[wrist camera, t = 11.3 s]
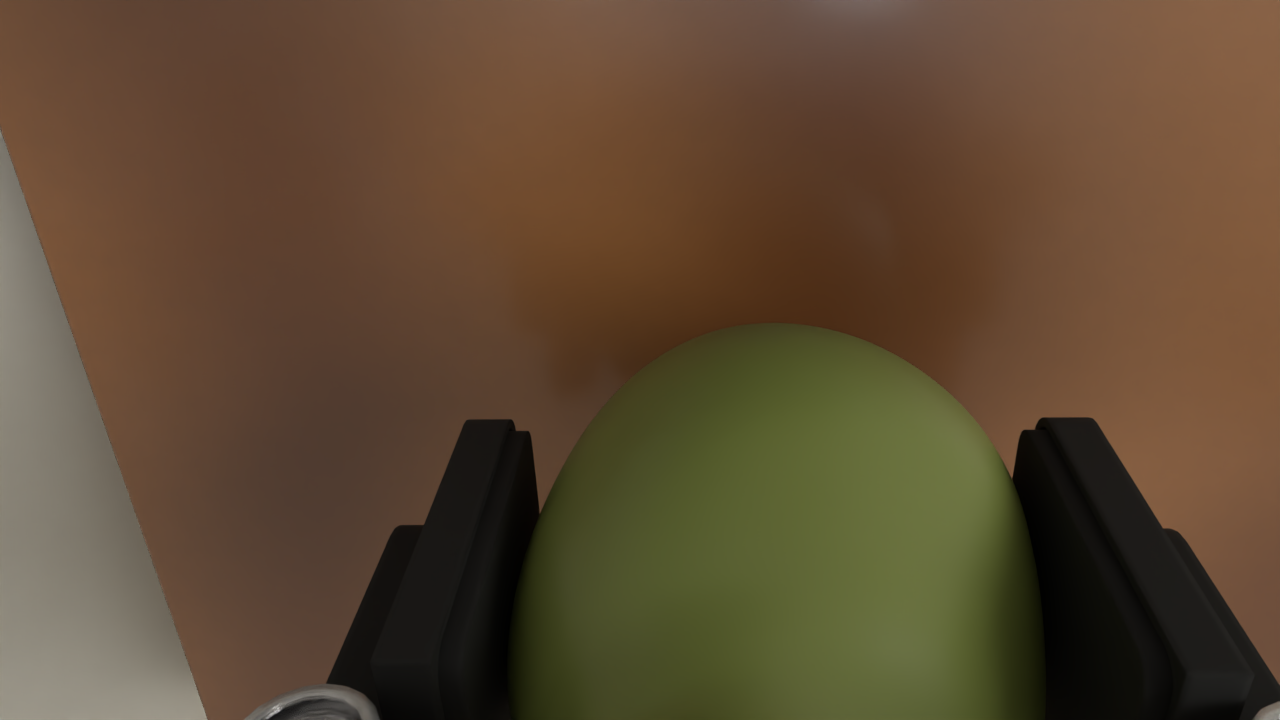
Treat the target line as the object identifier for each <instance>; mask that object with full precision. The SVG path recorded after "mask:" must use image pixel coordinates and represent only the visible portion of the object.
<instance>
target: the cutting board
mask: <svg viewBox="0 0 1280 720" xmlns="http://www.w3.org/2000/svg"><path fill="white" fill-rule="evenodd" d="M0 129H1V132H2V135H3V138H4V141H5V144H6V146H7V149H8V152H9V155H10V158H11V161H12V164H13V166H14V169H15V172H16V175H17V178H18V181H19V183H20V186H21V189H22V192H23V195H24V198H25V201H26V203H27V206H28V209H29V212H30V215H31V218H32V220H33V223H34V226H35V229H36V232H37V235H38V238H39V240H40V243H41V246H42V249H43V252H44V255H45V257H46V260H47V263H48V266H49V269H50V272H51V275H52V277H53V280H54V283H55V286H56V289H57V292H58V294H59V297H60V300H61V303H62V306H63V309H64V312H65V314H66V317H67V320H68V323H69V326H70V329H71V332H72V334H73V337H74V340H75V343H76V346H77V349H78V351H79V354H80V357H81V360H82V363H83V366H84V369H85V371H86V374H87V377H88V380H89V383H90V386H91V388H92V391H93V394H94V397H95V400H96V403H97V406H98V408H99V411H100V414H101V417H102V420H103V423H104V425H105V428H106V431H107V434H108V437H109V440H110V443H111V445H112V448H113V451H114V454H115V457H116V460H117V462H118V465H119V468H120V471H121V474H122V477H123V480H124V482H125V485H126V488H127V491H128V494H129V497H130V499H131V502H132V505H133V508H134V511H135V514H136V517H137V519H138V522H139V525H140V528H141V531H142V534H143V536H144V539H145V542H146V545H147V548H148V551H149V554H150V556H151V559H152V562H153V565H154V568H155V571H156V573H157V576H158V579H159V582H160V585H161V588H162V591H163V593H164V596H165V599H166V602H167V605H168V608H169V611H170V613H171V616H172V619H173V622H174V625H175V628H176V630H177V633H178V636H179V639H180V642H181V645H182V648H183V650H184V653H185V656H186V659H187V662H188V665H189V667H190V670H191V673H192V676H193V679H194V682H195V685H196V687H197V690H198V693H199V696H200V699H201V702H202V704H203V707H204V710H205V713H206V716H207V719H208V720H244V719H245V718H246V717H247V716H249V715H250V714H251V713H252V712H253V711H254V710H255V709H256V708H257V707H259V706H261V705H262V704H264V703H266V702H267V701H269V700H271V699H272V698H274V697H276V696H277V695H279V694H282V693H285V692H288V691H291V690H294V689H297V688H299V687H302V686H310V685H318V684H326V682H327V680H328V677H329V675H330V673H331V670H332V668H333V666H334V663H335V661H336V659H337V657H338V654H339V652H340V650H341V647H342V645H343V643H344V640H345V638H346V636H347V634H348V631H349V629H350V627H351V624H352V622H353V620H354V618H355V615H356V613H357V611H358V608H359V606H360V604H361V601H362V599H363V597H364V595H365V592H366V590H367V588H368V585H369V583H370V581H371V578H372V576H373V574H374V572H375V569H376V567H377V565H378V562H379V560H380V558H381V555H382V553H383V551H384V549H385V546H386V544H387V542H388V539H389V537H390V535H391V534H392V532H393V530H394V529H395V528H396V527H397V526H399V525H424V523H425V521H426V518H427V516H428V513H429V511H430V508H431V506H432V503H433V501H434V498H435V495H436V493H437V490H438V488H439V485H440V483H441V480H442V478H443V475H444V473H445V470H446V468H447V465H448V463H449V460H450V458H451V455H452V452H453V450H454V447H455V445H456V442H457V440H458V437H459V435H460V432H461V430H462V427H463V425H464V423H465V421H466V420H468V419H512V420H513V422H514V424H515V428H516V431H529V432H530V435H531V439H532V447H533V456H534V465H535V474H536V483H537V492H538V501H539V509H540V513H541V510H542V508H543V506H544V503H545V501H546V499H547V497H548V495H549V493H550V490H551V488H552V486H553V484H554V482H555V480H556V478H557V476H558V474H559V472H560V471H561V469H562V467H563V465H564V463H565V461H566V460H567V458H568V456H569V454H570V453H571V451H572V449H573V448H574V446H575V445H576V443H577V441H578V440H579V438H580V437H581V435H582V434H583V432H584V431H585V429H586V428H587V427H588V425H589V424H590V423H591V421H592V420H593V419H594V417H595V416H596V415H597V413H598V412H599V411H600V410H601V409H602V407H603V406H604V405H605V404H606V403H607V402H608V400H609V399H610V398H611V397H612V396H613V395H614V394H615V393H616V392H617V391H618V390H619V389H620V388H621V387H622V386H623V385H624V384H625V383H626V382H627V381H628V380H629V379H630V378H632V377H633V376H634V375H635V374H636V373H638V372H639V371H640V370H641V369H643V368H644V367H645V366H646V365H648V364H649V363H651V362H652V361H653V360H655V359H656V358H658V357H659V356H661V355H663V354H664V353H666V352H668V351H669V350H671V349H673V348H675V347H677V346H678V345H680V344H682V343H685V342H687V341H689V340H691V339H693V338H696V337H698V336H701V335H704V334H707V333H710V332H713V331H716V330H720V329H724V328H728V327H733V326H739V325H746V324H756V323H791V324H802V325H809V326H815V327H821V328H825V329H830V330H834V331H838V332H841V333H845V334H848V335H851V336H854V337H857V338H860V339H862V340H865V341H868V342H870V343H872V344H875V345H877V346H879V347H881V348H883V349H885V350H887V351H889V352H891V353H893V354H895V355H897V356H899V357H900V358H902V359H904V360H905V361H907V362H909V363H910V364H912V365H913V366H915V367H916V368H918V369H919V370H921V371H922V372H924V373H925V374H926V375H928V376H929V377H930V378H932V379H933V380H934V381H936V382H937V383H938V384H939V385H940V386H942V387H943V388H944V389H945V390H946V391H947V392H949V393H950V394H951V395H952V396H953V397H954V398H955V399H956V400H957V401H958V402H959V403H960V404H961V405H962V406H963V407H964V408H965V409H966V410H967V411H968V412H969V413H970V415H971V416H972V417H973V418H974V419H975V420H976V422H977V423H978V424H979V425H980V427H981V428H982V429H983V431H984V432H985V433H986V435H987V436H988V438H989V439H990V441H991V442H992V444H993V445H994V447H995V448H996V450H997V451H998V453H999V455H1000V457H1001V458H1002V460H1003V462H1004V464H1005V466H1006V468H1007V470H1008V472H1009V474H1010V476H1011V478H1012V477H1013V471H1014V465H1015V459H1016V453H1017V447H1018V441H1019V437H1020V434H1021V432H1022V431H1023V430H1035V427H1036V424H1037V422H1038V420H1039V419H1041V418H1042V417H1090V418H1093V419H1094V420H1095V421H1096V422H1097V423H1098V425H1099V427H1100V428H1101V430H1102V431H1103V433H1104V435H1105V436H1106V438H1107V439H1108V441H1109V443H1110V444H1111V446H1112V447H1113V449H1114V451H1115V452H1116V454H1117V455H1118V457H1119V459H1120V460H1121V462H1122V463H1123V465H1124V467H1125V468H1126V470H1127V471H1128V473H1129V475H1130V476H1131V478H1132V479H1133V481H1134V483H1135V484H1136V486H1137V487H1138V489H1139V491H1140V492H1141V494H1142V495H1143V497H1144V499H1145V500H1146V502H1147V503H1148V505H1149V507H1150V508H1151V510H1152V511H1153V513H1154V515H1155V516H1156V518H1157V519H1158V521H1159V523H1160V524H1161V526H1162V527H1163V528H1171V529H1173V530H1175V531H1178V532H1179V533H1180V534H1181V535H1182V536H1183V538H1184V539H1185V540H1186V541H1187V543H1188V544H1189V546H1190V547H1191V549H1192V550H1193V552H1194V553H1195V555H1196V557H1197V558H1198V560H1199V561H1200V563H1201V564H1202V566H1203V567H1204V569H1205V570H1206V572H1207V574H1208V575H1209V577H1210V578H1211V580H1212V581H1213V583H1214V584H1215V586H1216V587H1217V589H1218V591H1219V592H1220V594H1221V595H1222V597H1223V598H1224V600H1225V601H1226V603H1227V605H1228V606H1229V608H1230V609H1231V611H1232V612H1233V614H1234V615H1235V617H1236V618H1237V620H1238V622H1239V623H1240V625H1241V626H1242V628H1243V629H1244V631H1245V632H1246V634H1247V635H1248V637H1249V639H1250V640H1251V642H1252V643H1253V645H1254V646H1255V648H1256V649H1257V651H1258V652H1259V654H1260V656H1261V657H1262V659H1263V660H1264V662H1265V663H1266V665H1267V666H1268V668H1269V670H1270V671H1271V673H1272V674H1273V676H1274V677H1275V679H1276V680H1277V682H1278V683H1279V685H1280V0H0Z"/></svg>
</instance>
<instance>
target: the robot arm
mask: <svg viewBox="0 0 1280 720" xmlns="http://www.w3.org/2000/svg"><path fill="white" fill-rule="evenodd" d="M1012 480H1013V483H1014V485H1015V488H1016V490H1017V493H1018V495H1019V498H1020V501H1021V504H1022V507H1023V510H1024V514H1025V518H1026V521H1027V525H1028V530H1029V534H1030V539H1031V543H1032V548H1033V553H1034V558H1035V563H1036V568H1037V574H1038V580H1039V587H1040V595H1041V604H1042V613H1043V625H1044V639H1045V659H1046V712H1045V720H1280V685H1279V683H1278V682H1277V680H1276V679H1275V677H1274V676H1273V674H1272V673H1271V671H1270V670H1269V668H1268V666H1267V665H1266V663H1265V662H1264V660H1263V659H1262V657H1261V656H1260V654H1259V652H1258V651H1257V649H1256V648H1255V646H1254V645H1253V643H1252V642H1251V640H1250V639H1249V637H1248V635H1247V634H1246V632H1245V631H1244V629H1243V628H1242V626H1241V625H1240V623H1239V622H1238V620H1237V618H1236V617H1235V615H1234V614H1233V612H1232V611H1231V609H1230V608H1229V606H1228V605H1227V603H1226V601H1225V600H1224V598H1223V597H1222V595H1221V594H1220V592H1219V591H1218V589H1217V587H1216V586H1215V584H1214V583H1213V581H1212V580H1211V578H1210V577H1209V575H1208V574H1207V572H1206V570H1205V569H1204V567H1203V566H1202V564H1201V563H1200V561H1199V560H1198V558H1197V557H1196V555H1195V553H1194V552H1193V550H1192V549H1191V547H1190V546H1189V544H1188V543H1187V541H1186V540H1185V539H1184V538H1183V536H1182V535H1181V534H1180V533H1179V532H1178V531H1175V530H1173V529H1171V528H1163V527H1162V526H1161V524H1160V523H1159V521H1158V519H1157V518H1156V516H1155V515H1154V513H1153V511H1152V510H1151V508H1150V507H1149V505H1148V503H1147V502H1146V500H1145V499H1144V497H1143V495H1142V494H1141V492H1140V491H1139V489H1138V487H1137V486H1136V484H1135V483H1134V481H1133V479H1132V478H1131V476H1130V475H1129V473H1128V471H1127V470H1126V468H1125V467H1124V465H1123V463H1122V462H1121V460H1120V459H1119V457H1118V455H1117V454H1116V452H1115V451H1114V449H1113V447H1112V446H1111V444H1110V443H1109V441H1108V439H1107V438H1106V436H1105V435H1104V433H1103V431H1102V430H1101V428H1100V427H1099V425H1098V423H1097V422H1096V421H1095V420H1094V419H1093V418H1090V417H1042V418H1041V419H1039V420H1038V422H1037V424H1036V427H1035V430H1023V431H1022V432H1021V434H1020V437H1019V441H1018V447H1017V453H1016V459H1015V465H1014V471H1013V477H1012ZM539 515H540V509H539V501H538V492H537V483H536V474H535V465H534V456H533V447H532V439H531V435H530V432H529V431H516V428H515V424H514V422H513V420H512V419H468V420H466V421H465V423H464V425H463V427H462V430H461V432H460V435H459V437H458V440H457V442H456V445H455V447H454V450H453V452H452V455H451V458H450V460H449V463H448V465H447V468H446V470H445V473H444V475H443V478H442V480H441V483H440V485H439V488H438V490H437V493H436V495H435V498H434V501H433V503H432V506H431V508H430V511H429V513H428V516H427V518H426V521H425V523H424V525H399V526H397V527H396V528H395V529H394V530H393V532H392V534H391V535H390V537H389V539H388V542H387V544H386V546H385V549H384V551H383V553H382V555H381V558H380V560H379V562H378V565H377V567H376V569H375V572H374V574H373V576H372V578H371V581H370V583H369V585H368V588H367V590H366V592H365V595H364V597H363V599H362V601H361V604H360V606H359V608H358V611H357V613H356V615H355V618H354V620H353V622H352V624H351V627H350V629H349V631H348V634H347V636H346V638H345V640H344V643H343V645H342V647H341V650H340V652H339V654H338V657H337V659H336V661H335V663H334V666H333V668H332V670H331V673H330V675H329V677H328V680H327V682H326V684H318V685H310V686H302V687H299V688H297V689H294V690H291V691H288V692H285V693H282V694H279V695H277V696H276V697H274V698H272V699H271V700H269V701H267V702H266V703H264V704H262V705H261V706H259V707H257V708H256V709H255V710H254V711H253V712H252V713H251V714H250V715H249V716H247V717H246V718H245V719H244V720H511V715H510V708H509V699H508V686H507V651H508V637H509V628H510V621H511V614H512V608H513V602H514V597H515V592H516V588H517V583H518V579H519V575H520V571H521V568H522V564H523V561H524V557H525V554H526V551H527V548H528V545H529V542H530V539H531V536H532V533H533V530H534V528H535V525H536V523H537V520H538V518H539Z"/></svg>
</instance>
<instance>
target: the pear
mask: <svg viewBox="0 0 1280 720" xmlns="http://www.w3.org/2000/svg"><path fill="white" fill-rule="evenodd" d="M507 686H508V699H509V708H510V715H511V720H1045V712H1046V659H1045V639H1044V625H1043V613H1042V604H1041V595H1040V587H1039V580H1038V574H1037V568H1036V563H1035V558H1034V553H1033V548H1032V543H1031V539H1030V534H1029V530H1028V525H1027V521H1026V518H1025V514H1024V510H1023V507H1022V504H1021V501H1020V498H1019V495H1018V493H1017V490H1016V488H1015V485H1014V483H1013V480H1012V478H1011V476H1010V474H1009V472H1008V470H1007V468H1006V466H1005V464H1004V462H1003V460H1002V458H1001V457H1000V455H999V453H998V451H997V450H996V448H995V447H994V445H993V444H992V442H991V441H990V439H989V438H988V436H987V435H986V433H985V432H984V431H983V429H982V428H981V427H980V425H979V424H978V423H977V422H976V420H975V419H974V418H973V417H972V416H971V415H970V413H969V412H968V411H967V410H966V409H965V408H964V407H963V406H962V405H961V404H960V403H959V402H958V401H957V400H956V399H955V398H954V397H953V396H952V395H951V394H950V393H949V392H947V391H946V390H945V389H944V388H943V387H942V386H940V385H939V384H938V383H937V382H936V381H934V380H933V379H932V378H930V377H929V376H928V375H926V374H925V373H924V372H922V371H921V370H919V369H918V368H916V367H915V366H913V365H912V364H910V363H909V362H907V361H905V360H904V359H902V358H900V357H899V356H897V355H895V354H893V353H891V352H889V351H887V350H885V349H883V348H881V347H879V346H877V345H875V344H872V343H870V342H868V341H865V340H862V339H860V338H857V337H854V336H851V335H848V334H845V333H841V332H838V331H834V330H830V329H825V328H821V327H815V326H809V325H802V324H791V323H756V324H746V325H739V326H733V327H728V328H724V329H720V330H716V331H713V332H710V333H707V334H704V335H701V336H698V337H696V338H693V339H691V340H689V341H687V342H685V343H682V344H680V345H678V346H677V347H675V348H673V349H671V350H669V351H668V352H666V353H664V354H663V355H661V356H659V357H658V358H656V359H655V360H653V361H652V362H651V363H649V364H648V365H646V366H645V367H644V368H643V369H641V370H640V371H639V372H638V373H636V374H635V375H634V376H633V377H632V378H630V379H629V380H628V381H627V382H626V383H625V384H624V385H623V386H622V387H621V388H620V389H619V390H618V391H617V392H616V393H615V394H614V395H613V396H612V397H611V398H610V399H609V400H608V402H607V403H606V404H605V405H604V406H603V407H602V409H601V410H600V411H599V412H598V413H597V415H596V416H595V417H594V419H593V420H592V421H591V423H590V424H589V425H588V427H587V428H586V429H585V431H584V432H583V434H582V435H581V437H580V438H579V440H578V441H577V443H576V445H575V446H574V448H573V449H572V451H571V453H570V454H569V456H568V458H567V460H566V461H565V463H564V465H563V467H562V469H561V471H560V472H559V474H558V476H557V478H556V480H555V482H554V484H553V486H552V488H551V490H550V493H549V495H548V497H547V499H546V501H545V503H544V506H543V508H542V510H541V513H540V515H539V518H538V520H537V523H536V525H535V528H534V530H533V533H532V536H531V539H530V542H529V545H528V548H527V551H526V554H525V557H524V561H523V564H522V568H521V571H520V575H519V579H518V583H517V588H516V592H515V597H514V602H513V608H512V614H511V621H510V628H509V637H508V651H507Z"/></svg>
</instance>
